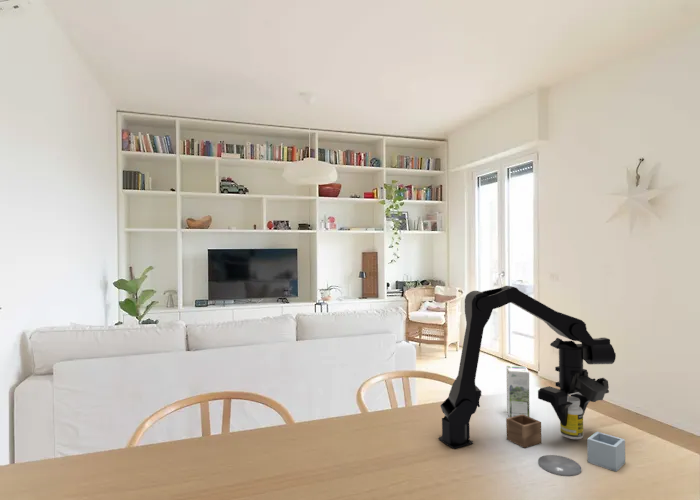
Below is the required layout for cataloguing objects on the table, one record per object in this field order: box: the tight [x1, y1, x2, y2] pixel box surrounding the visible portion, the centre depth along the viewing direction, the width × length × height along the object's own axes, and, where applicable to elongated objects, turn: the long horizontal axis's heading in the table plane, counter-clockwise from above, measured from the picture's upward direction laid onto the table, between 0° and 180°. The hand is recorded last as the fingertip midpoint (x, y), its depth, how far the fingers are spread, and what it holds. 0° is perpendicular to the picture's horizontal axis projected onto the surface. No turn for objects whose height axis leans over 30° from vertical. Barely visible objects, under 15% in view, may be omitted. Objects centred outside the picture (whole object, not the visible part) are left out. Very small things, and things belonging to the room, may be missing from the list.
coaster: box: [537, 454, 582, 477], centre depth 100 cm, size 9×9×1 cm
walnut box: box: [505, 414, 543, 449], centre depth 113 cm, size 6×6×6 cm
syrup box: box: [506, 365, 531, 418], centre depth 130 cm, size 6×6×14 cm
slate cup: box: [586, 431, 626, 473], centre depth 101 cm, size 6×6×6 cm
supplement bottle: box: [559, 395, 584, 440], centre depth 114 cm, size 5×5×10 cm
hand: (571, 423), depth 114 cm, fingers closed on supplement bottle, 5 cm apart
